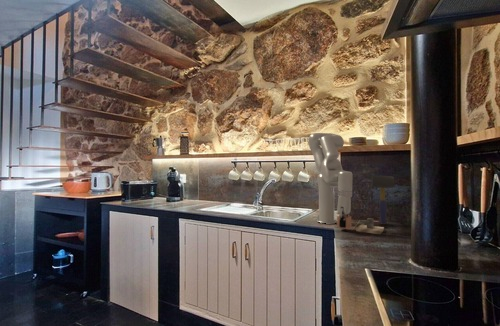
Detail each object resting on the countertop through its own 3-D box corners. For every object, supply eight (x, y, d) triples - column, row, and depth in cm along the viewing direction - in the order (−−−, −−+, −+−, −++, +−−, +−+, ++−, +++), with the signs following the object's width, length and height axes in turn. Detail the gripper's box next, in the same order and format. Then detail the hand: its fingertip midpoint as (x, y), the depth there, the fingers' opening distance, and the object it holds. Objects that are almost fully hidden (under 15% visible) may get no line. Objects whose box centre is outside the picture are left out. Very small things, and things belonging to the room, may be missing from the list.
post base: (356, 231, 143) (356, 219, 143) (361, 227, 152) (361, 215, 152) (380, 234, 136) (380, 221, 136) (383, 230, 145) (383, 218, 145)
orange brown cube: (337, 227, 143) (337, 216, 143) (340, 225, 148) (340, 214, 148) (348, 229, 140) (348, 218, 140) (351, 226, 145) (351, 216, 145)
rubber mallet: (393, 223, 162) (393, 175, 163) (395, 226, 155) (395, 175, 156) (371, 222, 167) (371, 175, 167) (372, 224, 160) (372, 175, 160)
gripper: (342, 191, 153) (341, 221, 153) (333, 194, 139) (332, 228, 139) (355, 192, 149) (355, 223, 149) (347, 195, 134) (346, 230, 135)
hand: (344, 225), depth 144 cm, fingers closed on orange brown cube, 6 cm apart
